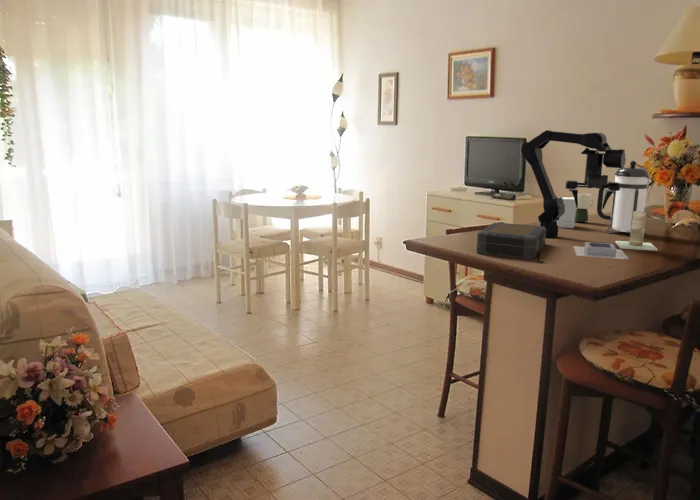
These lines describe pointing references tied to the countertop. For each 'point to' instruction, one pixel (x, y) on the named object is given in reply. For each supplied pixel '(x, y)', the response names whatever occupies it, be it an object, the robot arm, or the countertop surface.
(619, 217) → the coffee press
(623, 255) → the grey square socket base
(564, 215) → the supplement box
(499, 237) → the cash box
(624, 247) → the green pad
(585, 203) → the character mug
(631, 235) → the ash peg
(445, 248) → the countertop surface
